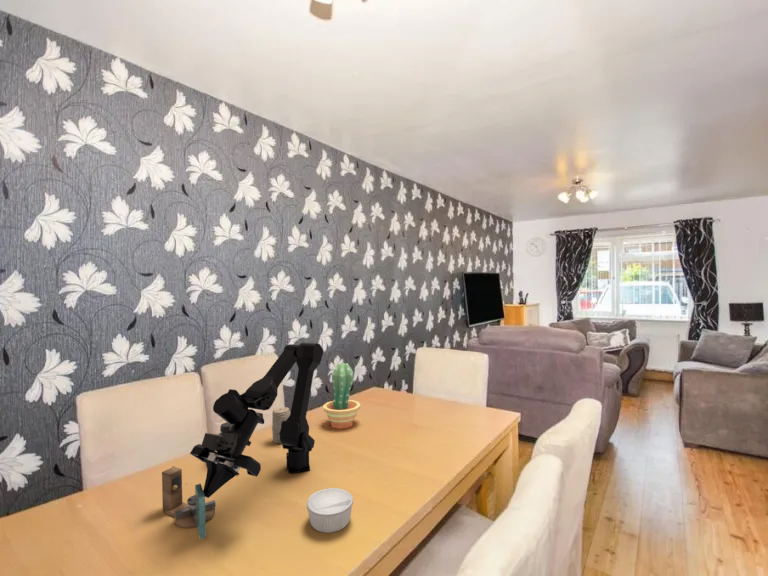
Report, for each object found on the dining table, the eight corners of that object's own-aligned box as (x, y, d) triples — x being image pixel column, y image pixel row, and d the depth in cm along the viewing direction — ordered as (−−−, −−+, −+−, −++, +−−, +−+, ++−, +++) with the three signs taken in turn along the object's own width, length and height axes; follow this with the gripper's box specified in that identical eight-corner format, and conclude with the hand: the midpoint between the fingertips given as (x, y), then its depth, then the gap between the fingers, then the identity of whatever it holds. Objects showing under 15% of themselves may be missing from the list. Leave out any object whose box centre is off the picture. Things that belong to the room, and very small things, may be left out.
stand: (183, 498, 104) (183, 461, 104) (223, 511, 98) (222, 472, 98) (151, 517, 96) (150, 477, 96) (192, 532, 90) (191, 489, 90)
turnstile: (212, 498, 102) (211, 463, 102) (224, 531, 88) (223, 490, 88) (173, 509, 97) (172, 472, 97) (180, 546, 83) (179, 503, 83)
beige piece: (268, 444, 139) (268, 411, 138) (279, 436, 146) (278, 405, 146) (284, 446, 137) (284, 412, 137) (294, 437, 144) (293, 406, 144)
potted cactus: (368, 422, 160) (367, 362, 160) (345, 434, 147) (344, 369, 147) (339, 415, 168) (338, 358, 168) (315, 427, 155) (314, 365, 155)
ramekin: (333, 542, 86) (333, 519, 86) (297, 526, 92) (296, 504, 91) (362, 516, 95) (362, 495, 95) (327, 503, 101) (327, 483, 101)
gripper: (195, 412, 98) (154, 475, 88) (251, 423, 90) (213, 494, 80) (221, 432, 105) (186, 492, 95) (274, 443, 97) (242, 510, 87)
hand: (205, 496), depth 89 cm, fingers closed
